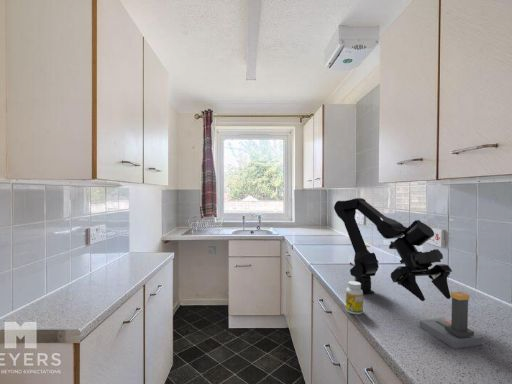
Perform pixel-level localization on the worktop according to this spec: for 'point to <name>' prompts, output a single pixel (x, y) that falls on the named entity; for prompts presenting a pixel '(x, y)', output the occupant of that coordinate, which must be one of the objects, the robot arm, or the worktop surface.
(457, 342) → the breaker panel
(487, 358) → the worktop surface
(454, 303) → the breaker handle
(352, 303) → the supplement bottle
